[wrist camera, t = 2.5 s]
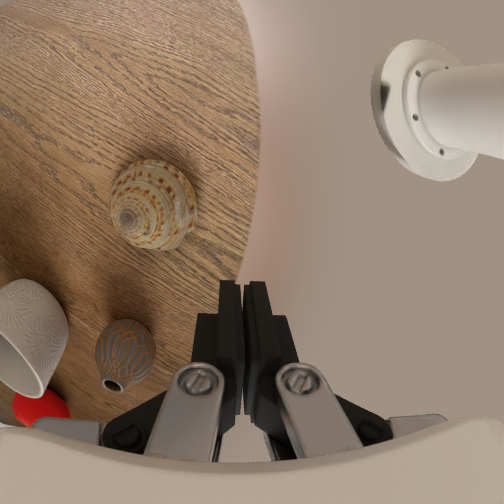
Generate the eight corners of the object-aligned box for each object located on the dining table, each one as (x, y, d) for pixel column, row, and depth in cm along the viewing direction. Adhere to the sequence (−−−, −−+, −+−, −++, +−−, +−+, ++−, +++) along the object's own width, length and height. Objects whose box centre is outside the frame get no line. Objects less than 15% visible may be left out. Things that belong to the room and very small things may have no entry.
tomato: (19, 363, 33) (-4, 400, 24) (73, 391, 35) (54, 435, 26) (31, 394, 37) (14, 428, 28) (80, 418, 39) (67, 457, 30)
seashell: (192, 264, 24) (103, 260, 20) (179, 238, 29) (105, 232, 25) (213, 175, 21) (114, 161, 17) (195, 162, 26) (116, 151, 22)
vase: (171, 335, 30) (158, 393, 22) (140, 360, 32) (124, 412, 24) (126, 299, 28) (98, 352, 20) (99, 328, 30) (72, 377, 22)
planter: (81, 295, 28) (38, 356, 18) (75, 356, 32) (47, 412, 22) (10, 253, 25) (-41, 296, 15) (13, 319, 29) (-22, 363, 19)
